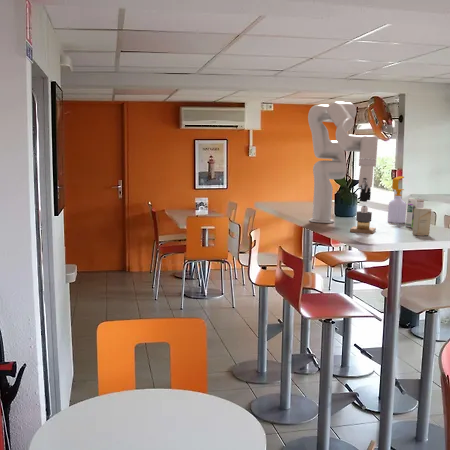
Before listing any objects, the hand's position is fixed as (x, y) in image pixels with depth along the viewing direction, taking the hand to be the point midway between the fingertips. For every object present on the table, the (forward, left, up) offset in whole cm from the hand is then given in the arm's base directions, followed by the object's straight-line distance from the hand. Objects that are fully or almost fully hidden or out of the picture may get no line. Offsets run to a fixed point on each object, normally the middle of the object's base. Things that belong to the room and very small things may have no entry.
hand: (364, 200), depth 255 cm
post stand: (0, 0, -14) cm, 14 cm away
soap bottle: (-50, +10, -14) cm, 53 cm away
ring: (0, 0, -9) cm, 9 cm away
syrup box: (-33, +20, -14) cm, 41 cm away
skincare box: (-5, +25, -14) cm, 29 cm away
